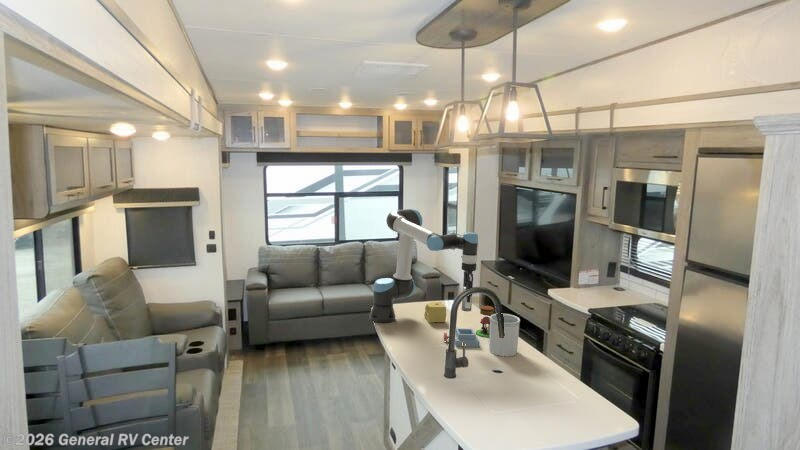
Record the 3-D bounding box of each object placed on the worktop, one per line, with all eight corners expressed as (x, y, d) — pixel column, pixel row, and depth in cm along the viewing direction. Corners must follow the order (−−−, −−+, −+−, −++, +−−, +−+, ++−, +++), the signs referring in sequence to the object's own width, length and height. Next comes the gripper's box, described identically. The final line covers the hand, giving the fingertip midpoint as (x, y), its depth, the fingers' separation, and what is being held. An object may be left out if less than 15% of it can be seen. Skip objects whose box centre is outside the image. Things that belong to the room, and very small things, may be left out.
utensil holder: (491, 357, 239) (493, 322, 237) (484, 345, 254) (487, 312, 252) (521, 357, 240) (523, 323, 238) (513, 346, 255) (515, 313, 252)
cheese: (424, 317, 294) (424, 301, 293) (441, 317, 296) (442, 301, 295) (428, 323, 284) (429, 306, 283) (446, 323, 286) (447, 306, 285)
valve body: (442, 337, 265) (442, 326, 264) (473, 338, 265) (474, 327, 265) (445, 347, 251) (446, 335, 250) (478, 347, 252) (479, 336, 251)
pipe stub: (460, 308, 258) (462, 286, 257) (470, 308, 258) (471, 286, 257) (462, 311, 253) (463, 288, 252) (472, 311, 253) (473, 288, 252)
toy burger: (472, 336, 267) (474, 309, 265) (476, 328, 279) (478, 303, 277) (494, 339, 263) (496, 312, 261) (497, 332, 275) (499, 306, 273)
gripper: (459, 258, 261) (456, 301, 264) (465, 266, 244) (462, 311, 246) (473, 259, 262) (470, 301, 265) (480, 266, 244) (477, 311, 247)
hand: (466, 306), depth 256 cm, fingers closed on pipe stub, 5 cm apart
